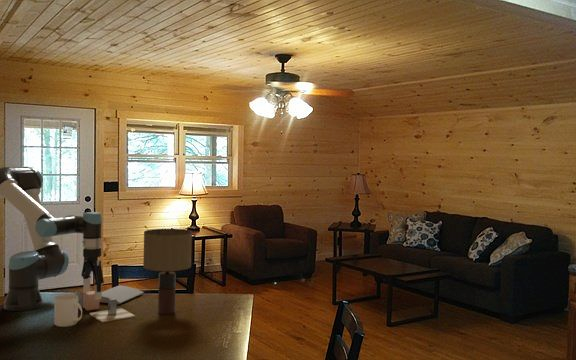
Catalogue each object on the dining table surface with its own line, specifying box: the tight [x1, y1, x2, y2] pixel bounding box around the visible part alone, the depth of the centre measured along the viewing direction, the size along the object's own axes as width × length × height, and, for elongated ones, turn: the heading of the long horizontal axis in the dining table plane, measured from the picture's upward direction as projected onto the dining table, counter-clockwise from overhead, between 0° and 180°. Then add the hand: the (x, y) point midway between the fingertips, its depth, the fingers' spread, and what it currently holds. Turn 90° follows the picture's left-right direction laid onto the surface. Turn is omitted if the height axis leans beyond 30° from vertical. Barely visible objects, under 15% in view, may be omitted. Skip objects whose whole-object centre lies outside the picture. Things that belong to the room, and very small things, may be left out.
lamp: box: [142, 228, 193, 315], centre depth 232 cm, size 20×20×35 cm
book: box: [99, 284, 145, 305], centre depth 254 cm, size 15×23×4 cm, turn 165°
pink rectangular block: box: [82, 290, 100, 311], centre depth 236 cm, size 5×5×7 cm
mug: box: [53, 293, 83, 328], centre depth 212 cm, size 9×12×11 cm
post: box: [107, 298, 118, 316], centre depth 225 cm, size 3×3×7 cm
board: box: [89, 307, 136, 324], centre depth 225 cm, size 14×14×1 cm
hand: (92, 296), depth 235 cm, fingers open, 13 cm apart
